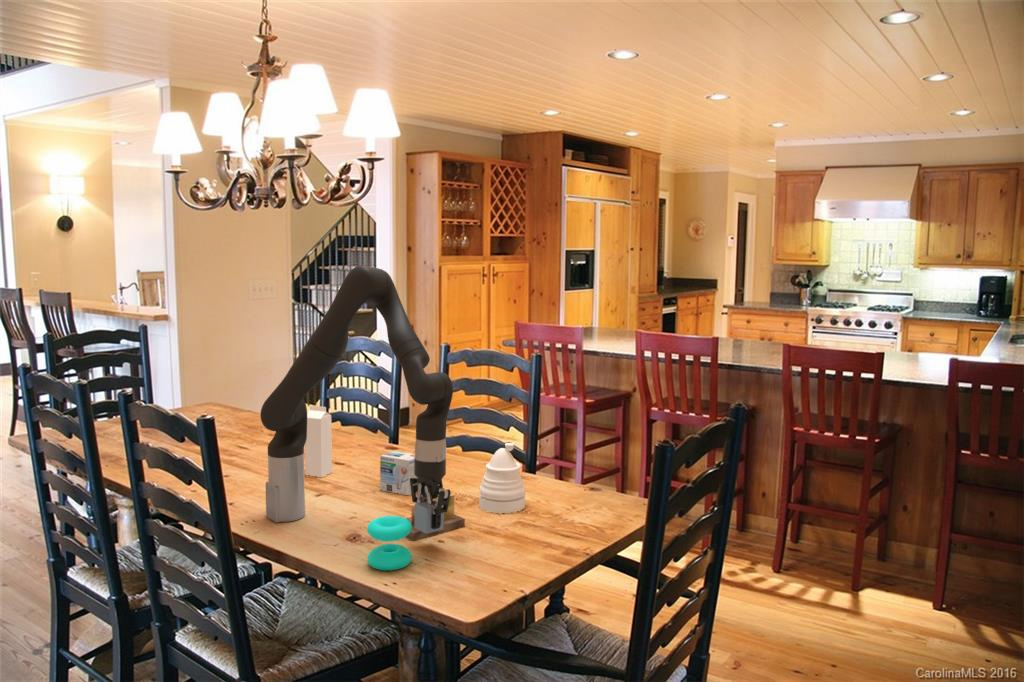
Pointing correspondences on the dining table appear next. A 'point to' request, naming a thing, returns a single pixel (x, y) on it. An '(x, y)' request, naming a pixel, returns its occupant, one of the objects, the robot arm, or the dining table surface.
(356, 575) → the dining table surface
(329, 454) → the milk
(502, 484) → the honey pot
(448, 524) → the brown wooden stand
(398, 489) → the light bulb box
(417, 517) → the pale grey cube
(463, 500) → the dining table surface
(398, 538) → the donuts
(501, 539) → the dining table surface
